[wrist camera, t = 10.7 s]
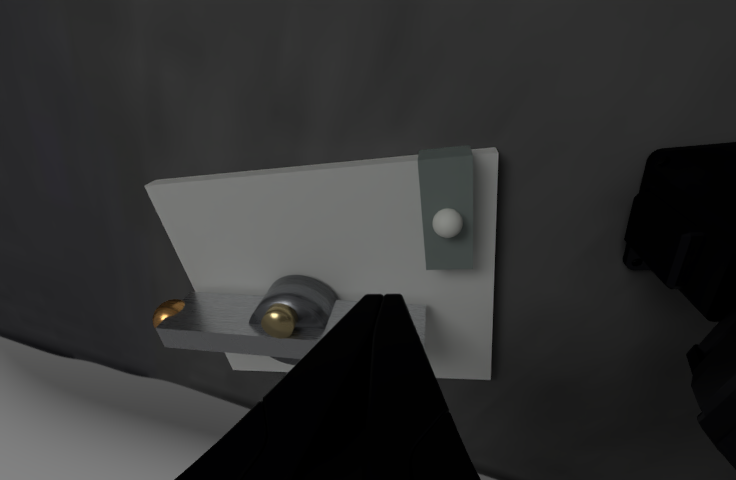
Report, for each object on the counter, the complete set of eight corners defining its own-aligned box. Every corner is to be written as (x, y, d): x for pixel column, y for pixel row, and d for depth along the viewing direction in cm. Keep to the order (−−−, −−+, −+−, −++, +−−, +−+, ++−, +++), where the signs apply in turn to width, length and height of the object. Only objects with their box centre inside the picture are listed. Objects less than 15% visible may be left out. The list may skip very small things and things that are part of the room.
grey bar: (425, 341, 23) (423, 391, 20) (187, 323, 26) (153, 364, 23) (426, 279, 21) (424, 324, 17) (163, 267, 24) (120, 304, 20)
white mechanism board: (495, 136, 17) (509, 160, 14) (488, 368, 25) (496, 417, 22) (152, 172, 22) (101, 196, 18) (238, 360, 29) (214, 400, 26)
